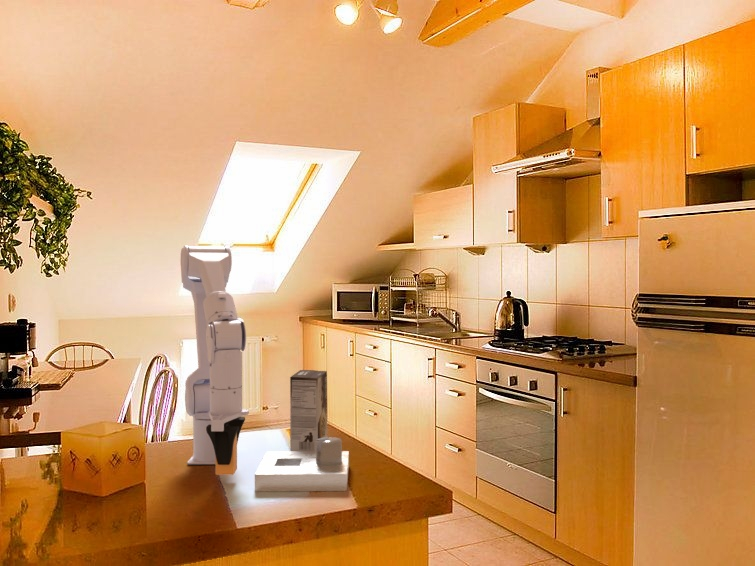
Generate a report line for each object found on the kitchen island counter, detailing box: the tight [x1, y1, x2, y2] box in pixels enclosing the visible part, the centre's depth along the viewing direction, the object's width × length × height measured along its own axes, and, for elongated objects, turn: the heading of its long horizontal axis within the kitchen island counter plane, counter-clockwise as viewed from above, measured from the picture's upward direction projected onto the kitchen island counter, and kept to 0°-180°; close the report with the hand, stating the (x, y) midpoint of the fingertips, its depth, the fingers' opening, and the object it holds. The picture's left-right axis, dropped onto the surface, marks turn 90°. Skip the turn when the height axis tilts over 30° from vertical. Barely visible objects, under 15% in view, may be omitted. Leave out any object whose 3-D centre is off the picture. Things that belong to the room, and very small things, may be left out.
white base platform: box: [254, 436, 350, 492], centre depth 120 cm, size 14×16×7 cm
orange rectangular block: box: [214, 434, 238, 476], centre depth 117 cm, size 3×3×7 cm
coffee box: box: [289, 369, 328, 451], centre depth 140 cm, size 9×6×16 cm
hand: (226, 461), depth 117 cm, fingers closed on orange rectangular block, 3 cm apart
